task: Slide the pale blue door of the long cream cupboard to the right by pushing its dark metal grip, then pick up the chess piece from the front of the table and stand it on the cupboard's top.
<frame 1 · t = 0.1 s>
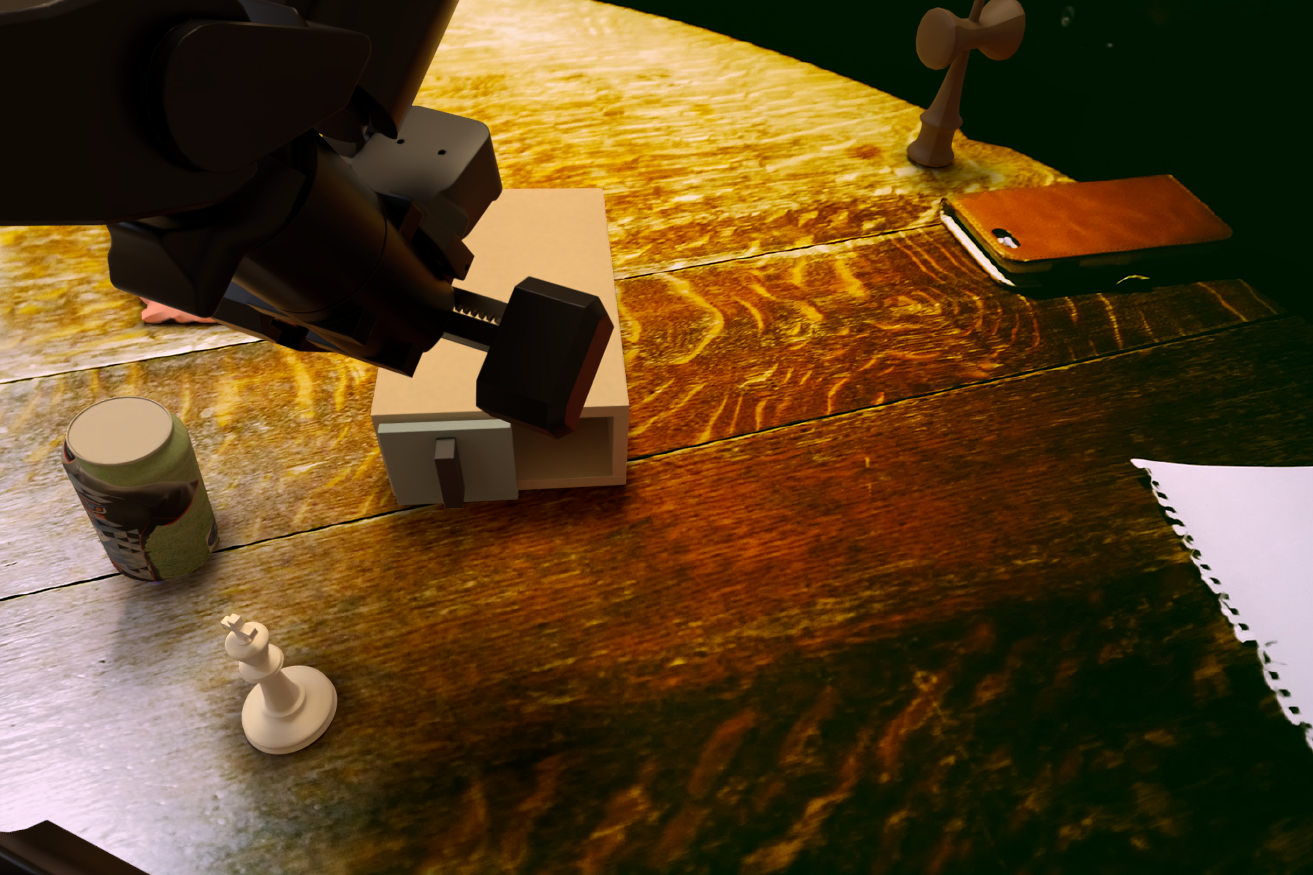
hand: (469, 368, 45), 14 cm above the table, tool tilted 30°, fingers open, 9 cm apart
beverage can: (183, 553, 53), on the table
kendama: (927, 161, 93), on the table
closet door: (451, 474, 53), point 4 cm above the table, slide at 0.0 cm
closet: (513, 364, 66), on the table
chess piece: (292, 712, 46), on the table
cloth: (247, 248, 75), on the table
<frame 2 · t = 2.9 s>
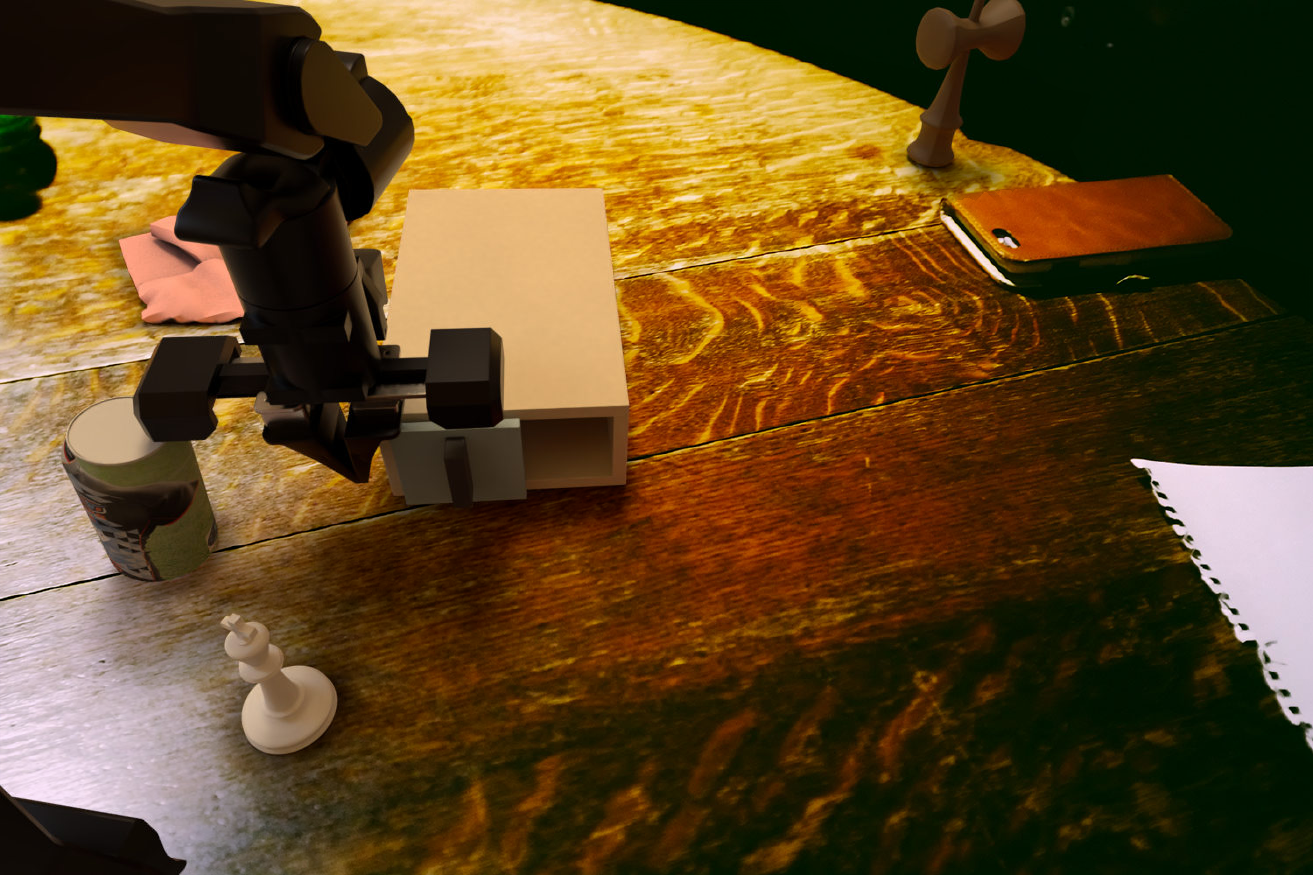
hand: (363, 477, 52), 4 cm above the table, tool pointing down, fingers closed
closet door: (460, 473, 53), point 4 cm above the table, slide at 0.6 cm, touching gripper
everything else where it was.
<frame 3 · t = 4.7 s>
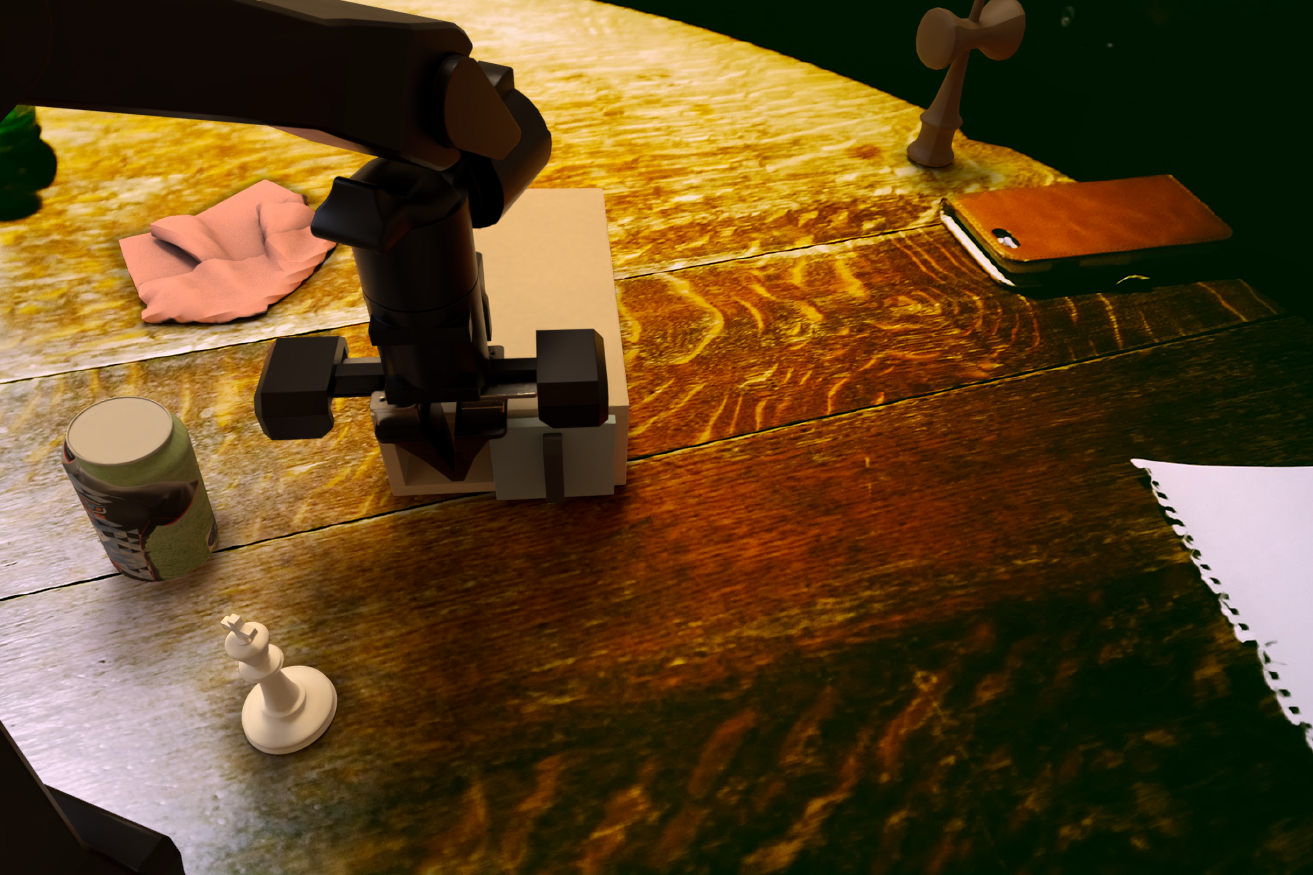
hand: (458, 475, 53), 4 cm above the table, tool pointing down, fingers closed
closet door: (554, 469, 54), point 4 cm above the table, slide at 6.6 cm, touching gripper
everything else where it was.
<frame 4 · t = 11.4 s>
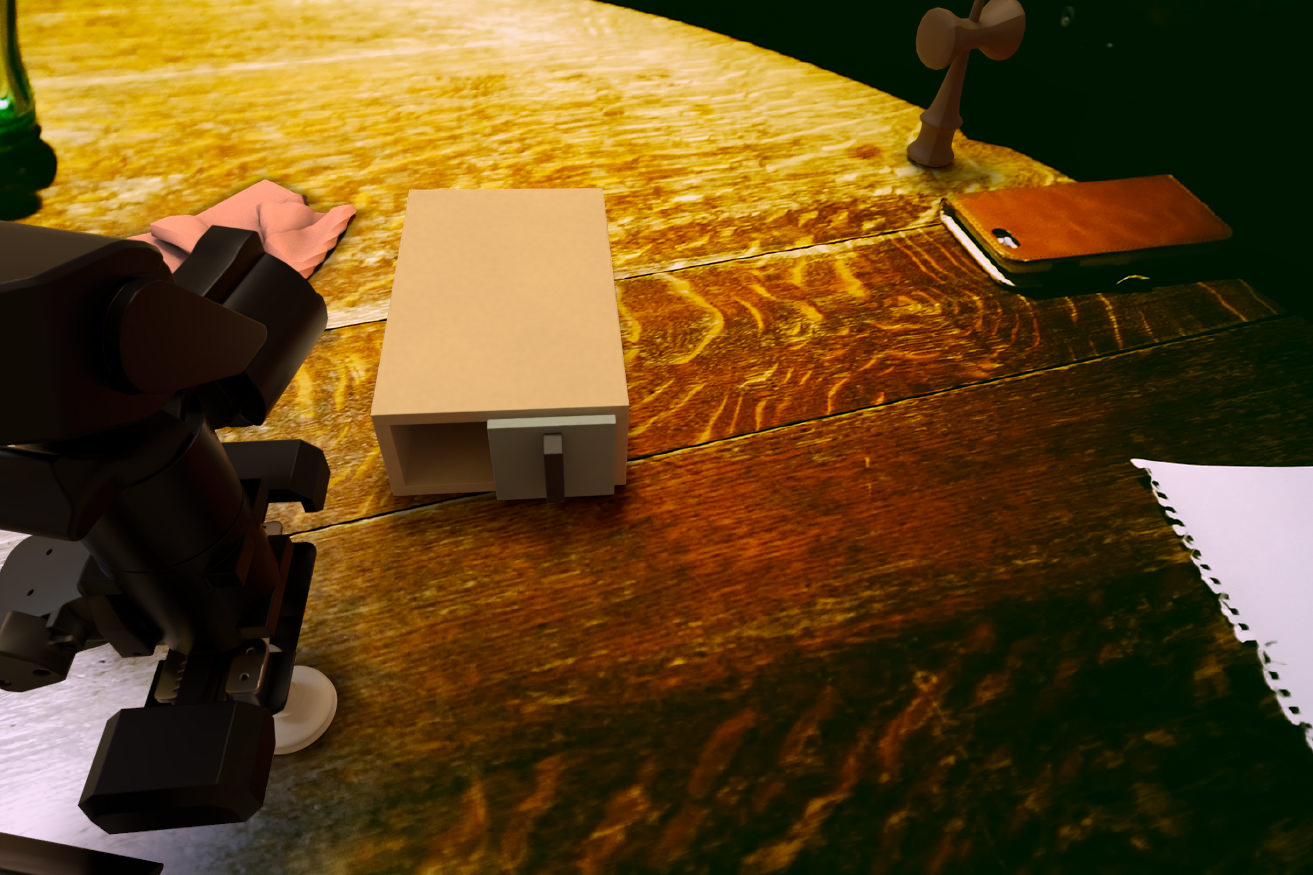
hand: (278, 688, 44), 3 cm above the table, tool pointing down, fingers closed on chess piece
closet door: (554, 469, 54), point 4 cm above the table, slide at 6.6 cm
chess piece: (292, 712, 46), on the table, touching gripper
everything else where it was.
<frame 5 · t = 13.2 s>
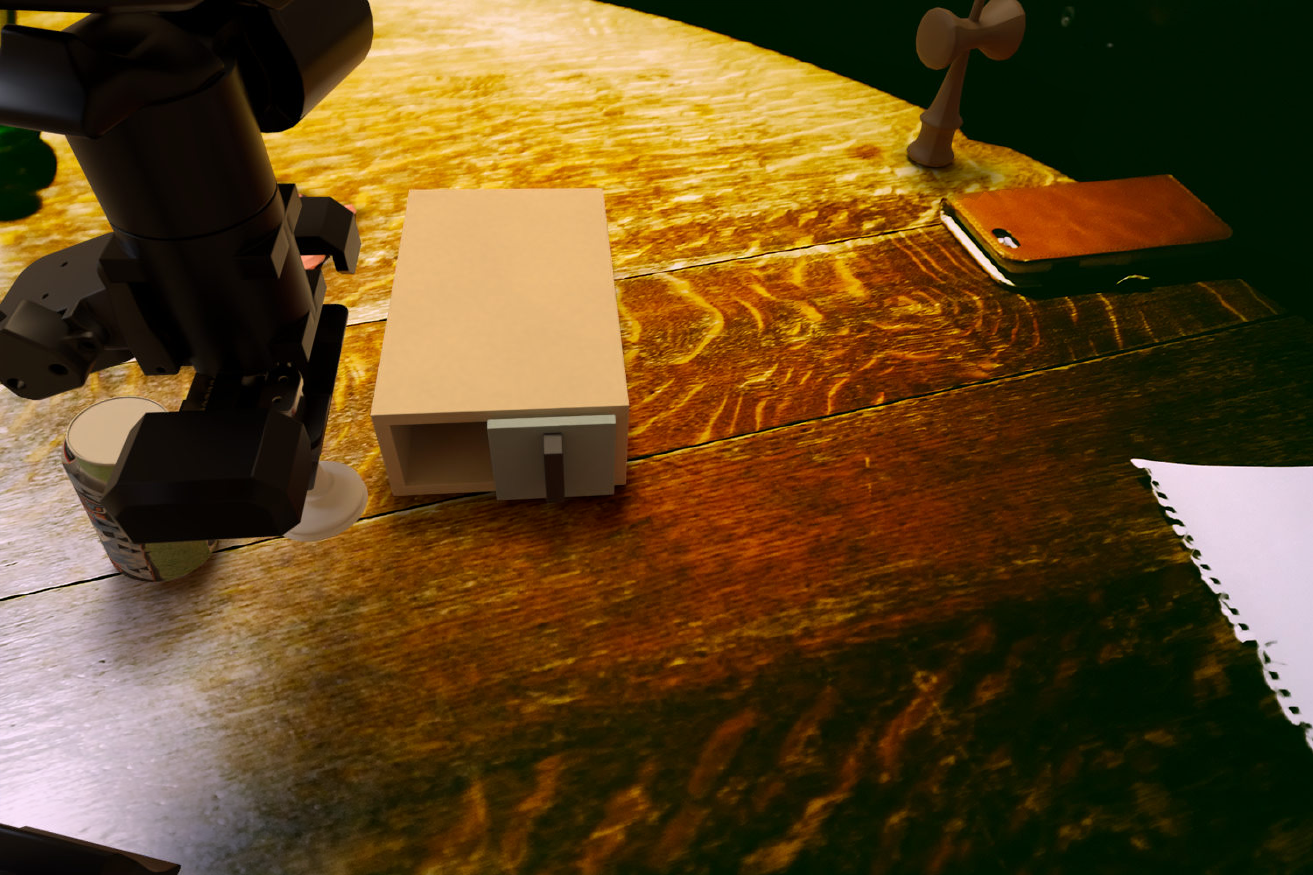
hand: (306, 471, 41), 13 cm above the table, tool pointing down, fingers closed on chess piece
chess piece: (320, 505, 43), point 10 cm above the table, touching gripper
everything else where it was.
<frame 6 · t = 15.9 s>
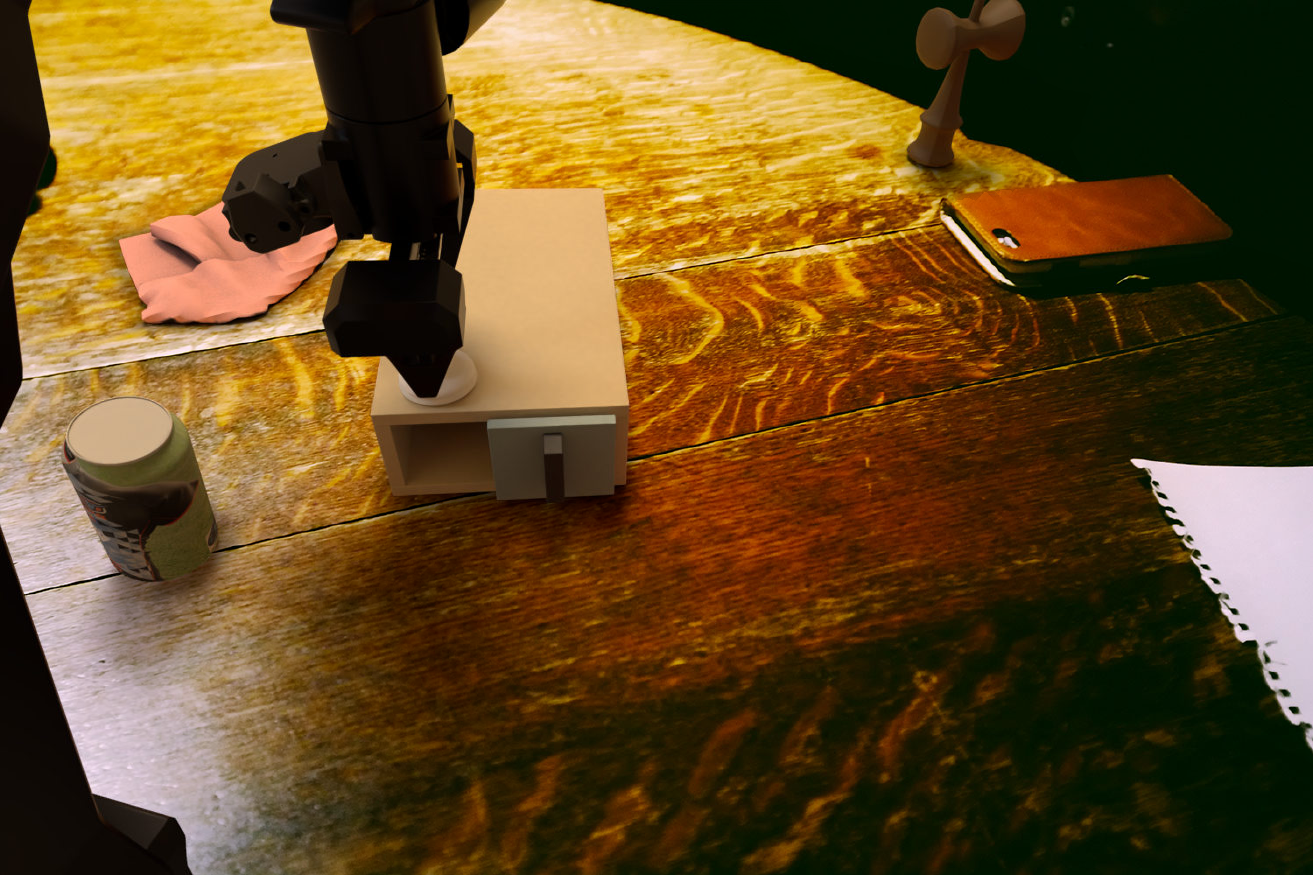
hand: (433, 343, 51), 11 cm above the table, tool pointing down, fingers open, 9 cm apart
chess piece: (439, 381, 53), point 8 cm above the table, touching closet
everything else where it was.
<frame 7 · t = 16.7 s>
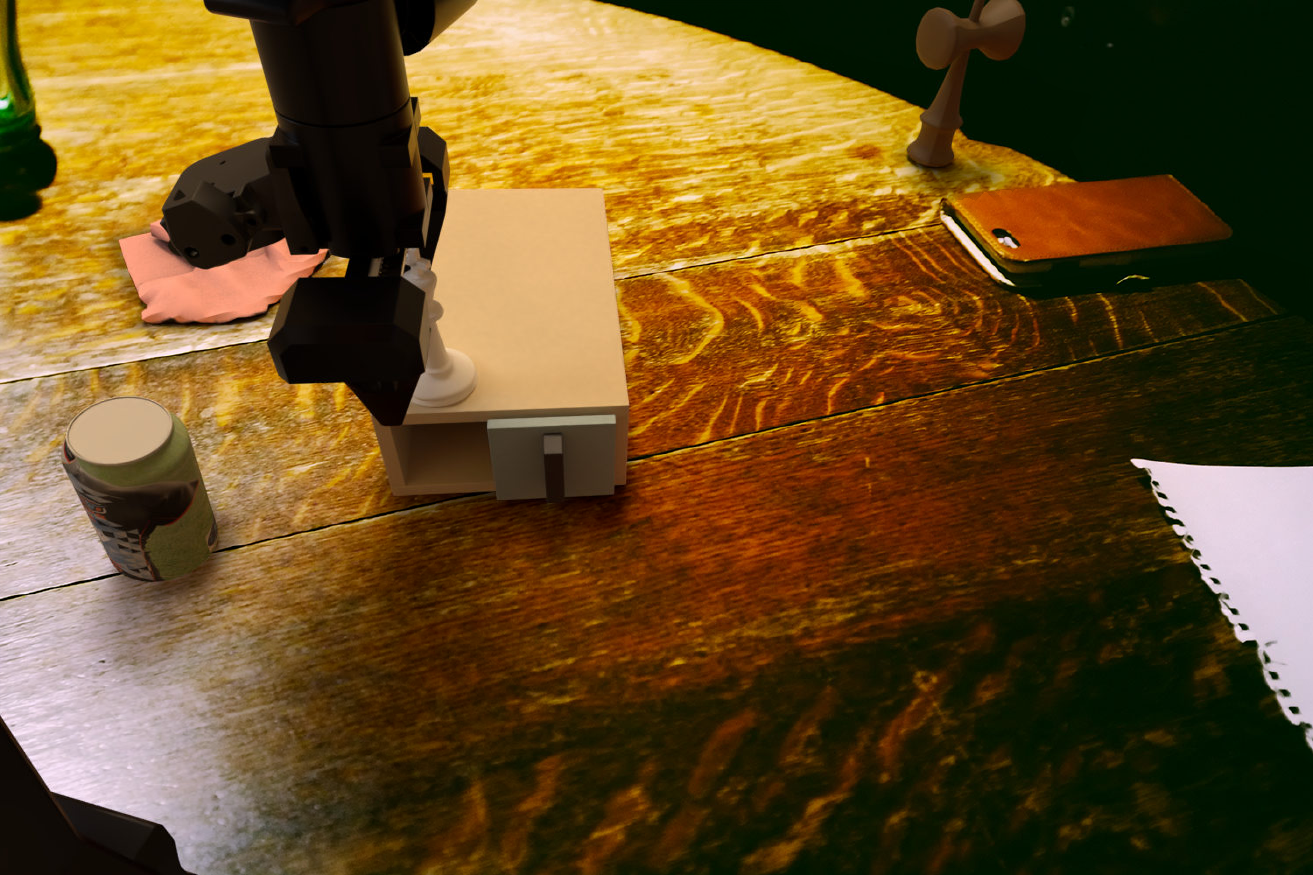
hand: (401, 366, 47), 12 cm above the table, tool pointing down, fingers open, 9 cm apart
chess piece: (439, 382, 53), point 8 cm above the table, touching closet, gripper
everything else where it was.
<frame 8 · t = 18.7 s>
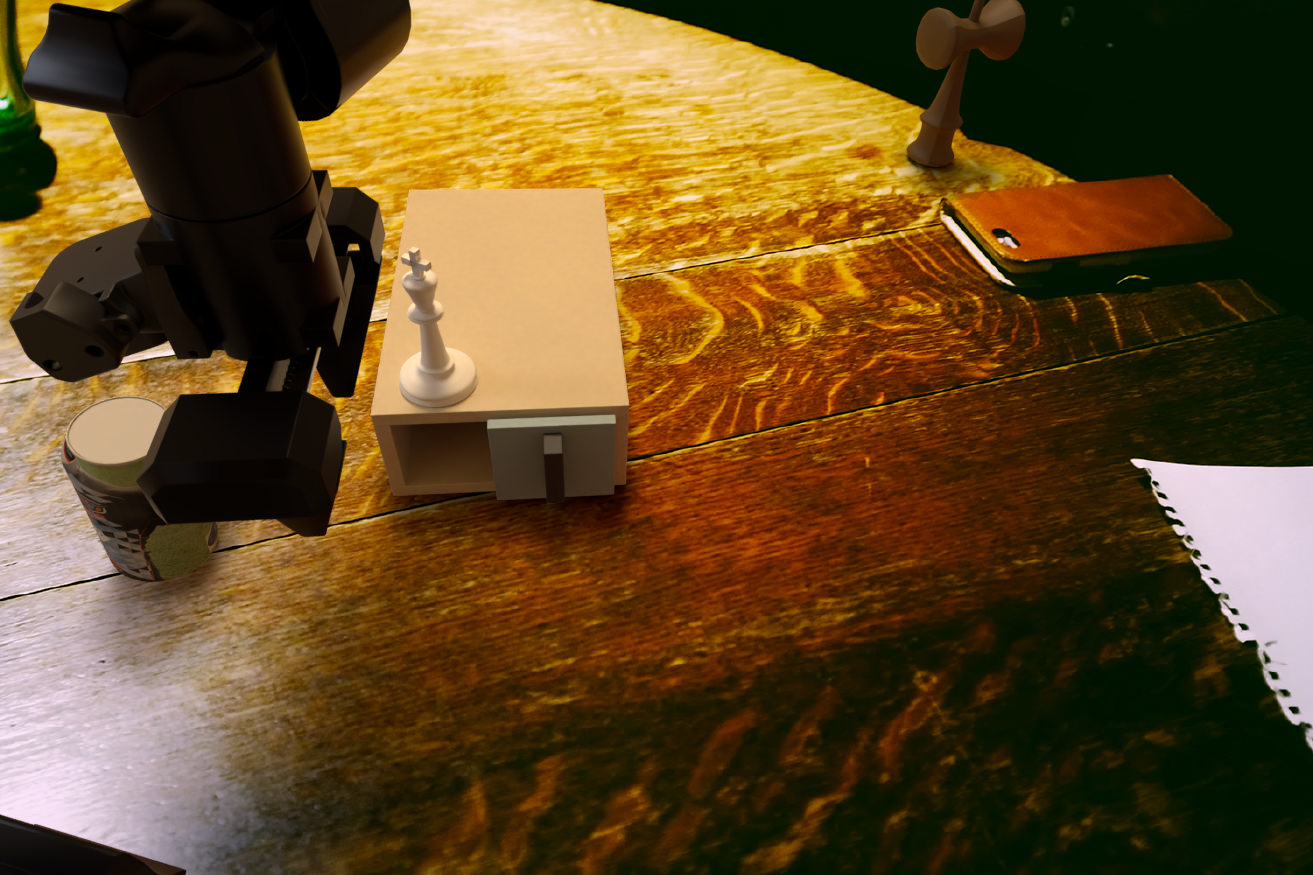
hand: (330, 459, 41), 13 cm above the table, tool pointing down, fingers open, 9 cm apart
chess piece: (439, 382, 53), point 8 cm above the table, touching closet
everything else where it was.
at the end: closet door slide at 6.6 cm; chess piece inside the target area on the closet (3.8 cm from its centre), point 7.8 cm above the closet's base; chess piece tilted 0° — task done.
